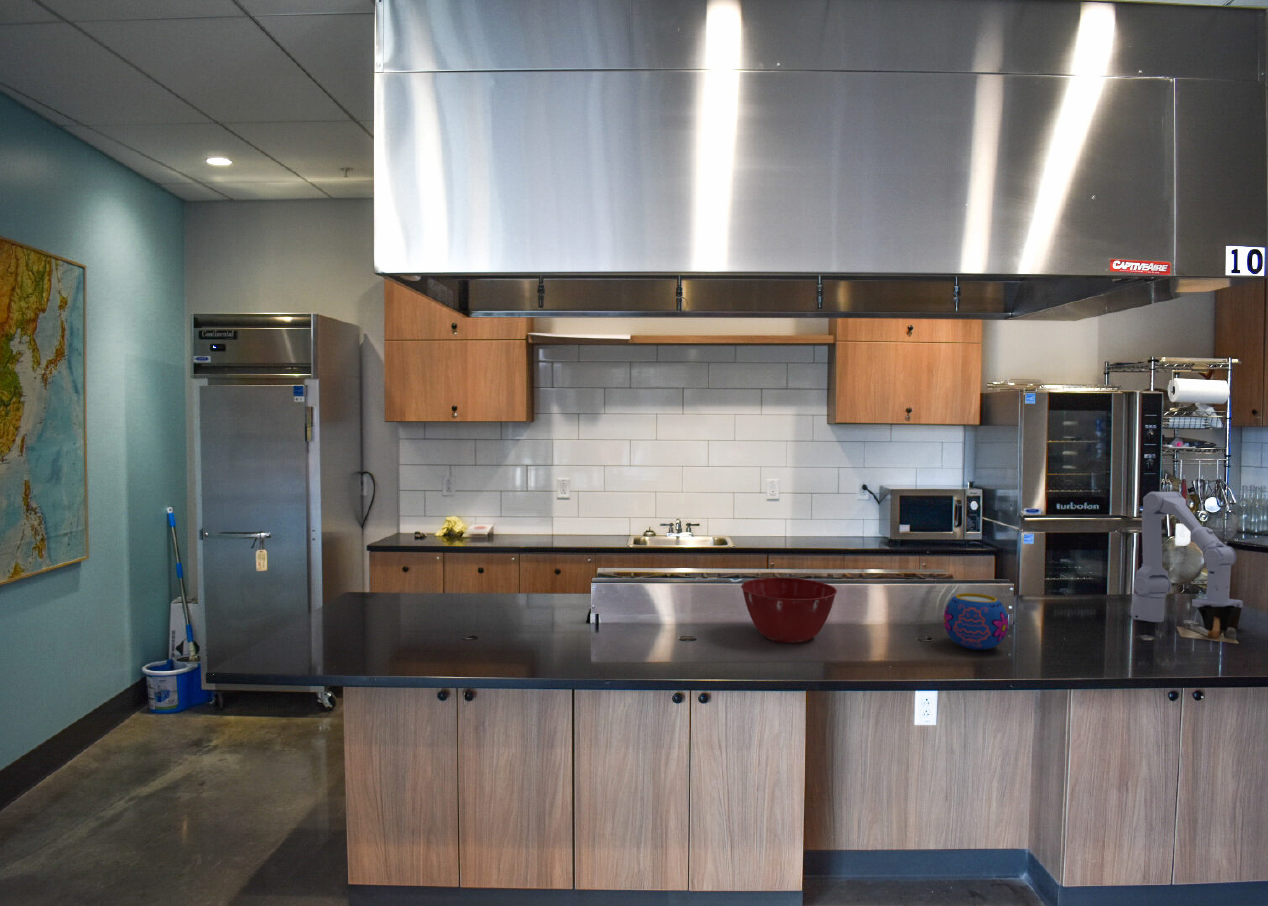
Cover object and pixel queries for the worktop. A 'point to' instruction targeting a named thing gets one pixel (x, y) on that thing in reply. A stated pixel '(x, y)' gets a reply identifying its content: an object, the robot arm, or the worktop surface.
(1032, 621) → the worktop surface
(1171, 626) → the worktop surface
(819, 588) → the mixing bowl
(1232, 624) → the coffee mug
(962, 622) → the ceramic pot
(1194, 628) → the lever
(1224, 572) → the robot arm
